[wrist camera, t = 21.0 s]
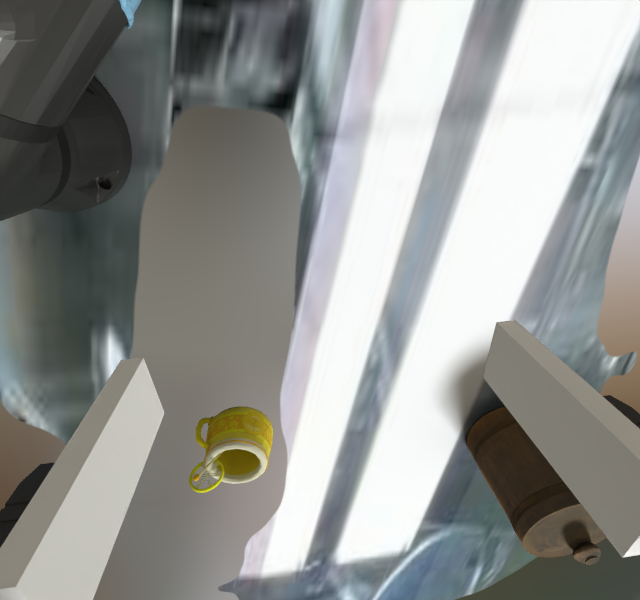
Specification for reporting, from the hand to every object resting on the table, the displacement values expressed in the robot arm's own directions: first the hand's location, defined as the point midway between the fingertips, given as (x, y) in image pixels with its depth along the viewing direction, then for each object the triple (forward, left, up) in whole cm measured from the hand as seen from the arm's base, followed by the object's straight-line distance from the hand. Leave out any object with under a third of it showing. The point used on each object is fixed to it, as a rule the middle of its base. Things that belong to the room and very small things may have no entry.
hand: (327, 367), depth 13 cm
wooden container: (+37, -47, -33) cm, 68 cm away
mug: (-13, -37, -33) cm, 51 cm away
